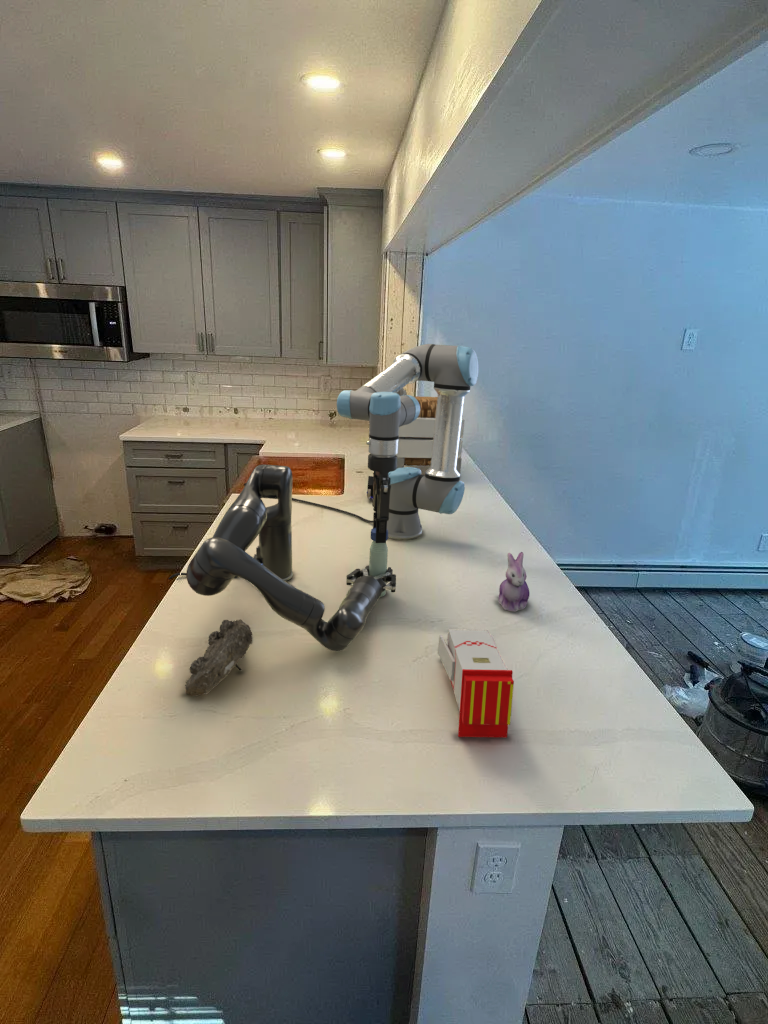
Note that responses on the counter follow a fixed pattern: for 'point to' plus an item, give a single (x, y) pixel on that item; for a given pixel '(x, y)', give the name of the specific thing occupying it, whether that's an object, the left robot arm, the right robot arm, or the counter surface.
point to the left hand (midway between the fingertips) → (380, 568)
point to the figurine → (514, 585)
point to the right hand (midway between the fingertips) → (379, 538)
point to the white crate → (421, 436)
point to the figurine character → (370, 487)
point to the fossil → (219, 656)
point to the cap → (373, 534)
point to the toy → (478, 682)
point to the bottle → (378, 560)
